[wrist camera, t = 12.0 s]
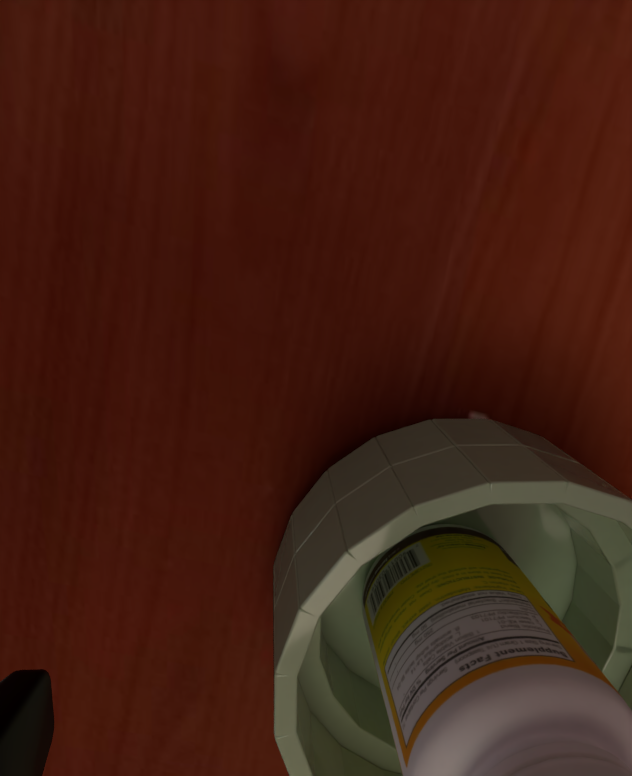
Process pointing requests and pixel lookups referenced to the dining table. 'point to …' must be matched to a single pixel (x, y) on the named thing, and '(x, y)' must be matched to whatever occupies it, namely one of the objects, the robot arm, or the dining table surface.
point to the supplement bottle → (484, 666)
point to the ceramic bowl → (398, 520)
